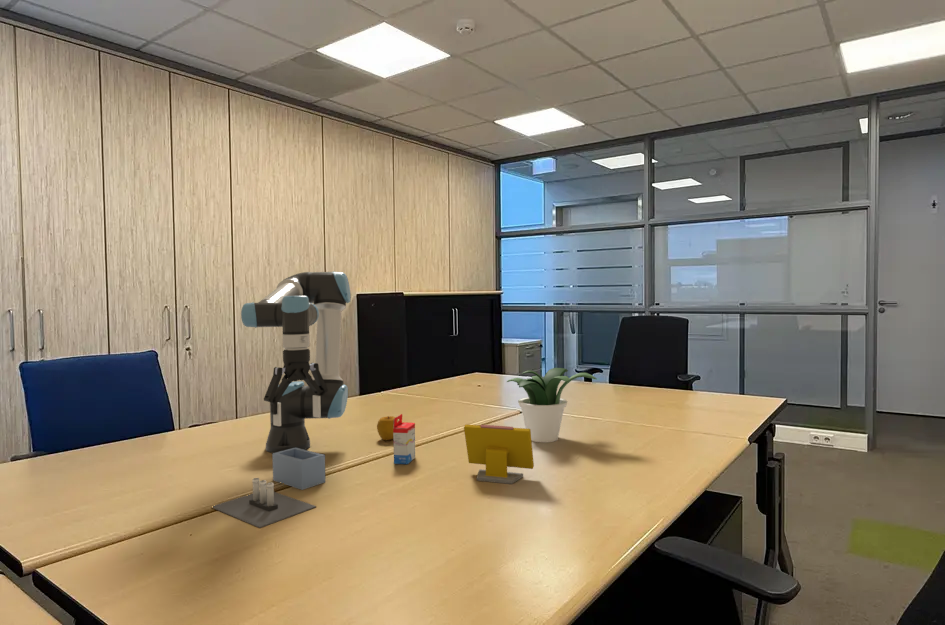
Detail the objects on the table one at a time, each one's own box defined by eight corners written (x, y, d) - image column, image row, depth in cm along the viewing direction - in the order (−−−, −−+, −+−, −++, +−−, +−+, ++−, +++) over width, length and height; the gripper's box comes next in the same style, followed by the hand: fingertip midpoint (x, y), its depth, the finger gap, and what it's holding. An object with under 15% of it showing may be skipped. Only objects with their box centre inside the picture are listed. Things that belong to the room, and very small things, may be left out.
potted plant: (591, 453, 191) (590, 378, 190) (492, 445, 203) (491, 374, 203) (603, 432, 221) (603, 367, 220) (516, 425, 233) (516, 364, 232)
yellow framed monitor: (534, 477, 168) (533, 424, 167) (527, 485, 160) (527, 430, 160) (470, 471, 174) (469, 420, 174) (461, 479, 167) (460, 425, 166)
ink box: (407, 464, 181) (407, 419, 181) (393, 464, 182) (392, 418, 182) (415, 457, 190) (415, 413, 189) (401, 456, 191) (401, 413, 190)
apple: (393, 443, 208) (393, 419, 208) (372, 441, 211) (372, 418, 210) (403, 437, 216) (403, 414, 216) (383, 436, 219) (383, 413, 218)
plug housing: (273, 480, 167) (272, 453, 167) (296, 473, 174) (295, 447, 173) (302, 489, 159) (301, 461, 159) (325, 482, 165) (324, 454, 165)
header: (211, 507, 146) (210, 481, 146) (266, 490, 159) (266, 466, 159) (259, 528, 133) (259, 499, 133) (316, 507, 146) (315, 481, 145)
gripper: (265, 352, 153) (267, 431, 153) (338, 346, 173) (339, 415, 173) (249, 351, 157) (251, 427, 158) (323, 344, 177) (324, 412, 178)
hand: (297, 421), depth 166 cm, fingers open, 13 cm apart
